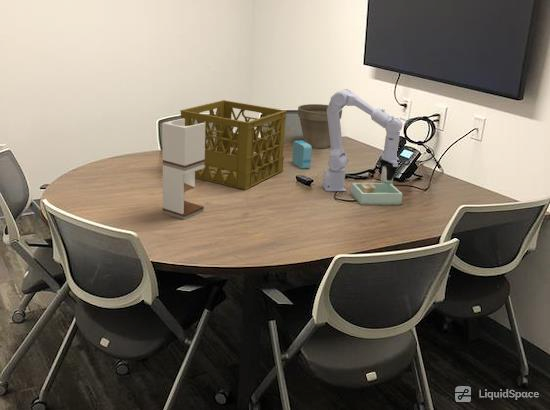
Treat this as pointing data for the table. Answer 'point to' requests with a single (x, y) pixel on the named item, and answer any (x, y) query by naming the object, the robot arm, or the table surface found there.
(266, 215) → the table surface
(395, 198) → the tote
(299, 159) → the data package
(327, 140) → the plant pot
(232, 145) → the milk crate
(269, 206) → the table surface
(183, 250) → the table surface
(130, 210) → the table surface
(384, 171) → the metal cylinder
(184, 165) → the notched white pedestal
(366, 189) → the maple block
